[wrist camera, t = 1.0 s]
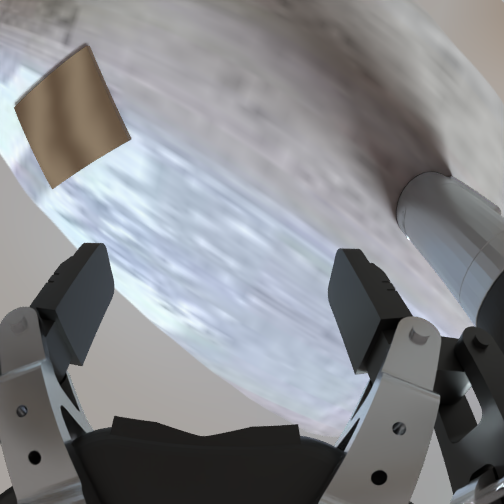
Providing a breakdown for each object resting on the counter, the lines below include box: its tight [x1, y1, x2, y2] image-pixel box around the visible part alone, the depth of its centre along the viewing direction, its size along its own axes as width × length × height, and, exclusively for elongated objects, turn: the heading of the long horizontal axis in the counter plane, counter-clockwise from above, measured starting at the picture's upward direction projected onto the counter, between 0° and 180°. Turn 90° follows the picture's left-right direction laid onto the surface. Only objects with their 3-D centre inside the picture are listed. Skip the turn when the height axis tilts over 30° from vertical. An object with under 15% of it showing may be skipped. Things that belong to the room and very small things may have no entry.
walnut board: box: [14, 46, 131, 189], centre depth 25 cm, size 12×12×1 cm
